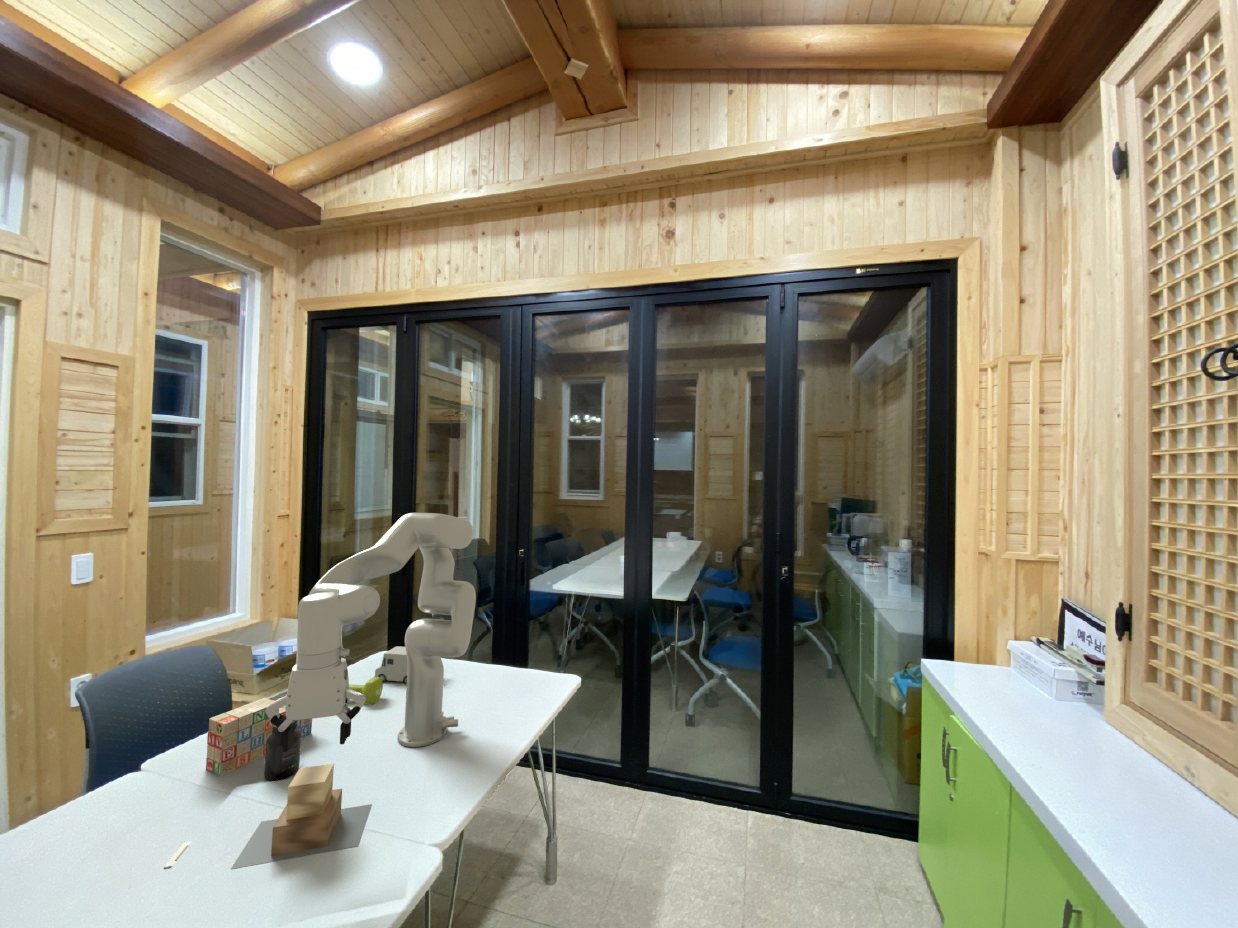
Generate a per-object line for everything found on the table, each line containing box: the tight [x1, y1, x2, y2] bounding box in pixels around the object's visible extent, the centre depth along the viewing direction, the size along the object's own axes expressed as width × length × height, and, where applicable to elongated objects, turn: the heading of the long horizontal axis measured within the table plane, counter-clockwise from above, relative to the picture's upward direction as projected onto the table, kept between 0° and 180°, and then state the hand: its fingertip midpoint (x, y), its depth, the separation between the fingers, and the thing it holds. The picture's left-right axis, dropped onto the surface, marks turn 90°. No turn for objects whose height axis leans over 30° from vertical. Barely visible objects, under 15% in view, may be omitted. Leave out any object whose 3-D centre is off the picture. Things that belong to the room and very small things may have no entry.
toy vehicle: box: [374, 645, 407, 685], centre depth 165 cm, size 9×18×10 cm, turn 85°
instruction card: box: [163, 840, 193, 869], centre depth 86 cm, size 8×6×1 cm
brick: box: [271, 788, 343, 856], centre depth 90 cm, size 9×9×5 cm
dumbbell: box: [349, 677, 384, 705], centre depth 147 cm, size 16×8×7 cm, turn 89°
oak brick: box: [286, 763, 335, 820], centre depth 90 cm, size 6×6×6 cm
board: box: [230, 803, 373, 870], centre depth 89 cm, size 20×12×1 cm, turn 107°
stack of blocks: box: [205, 697, 313, 777], centre depth 119 cm, size 21×6×12 cm, turn 157°
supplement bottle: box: [263, 720, 302, 783], centre depth 110 cm, size 7×7×12 cm
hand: (316, 744), depth 91 cm, fingers open, 9 cm apart
